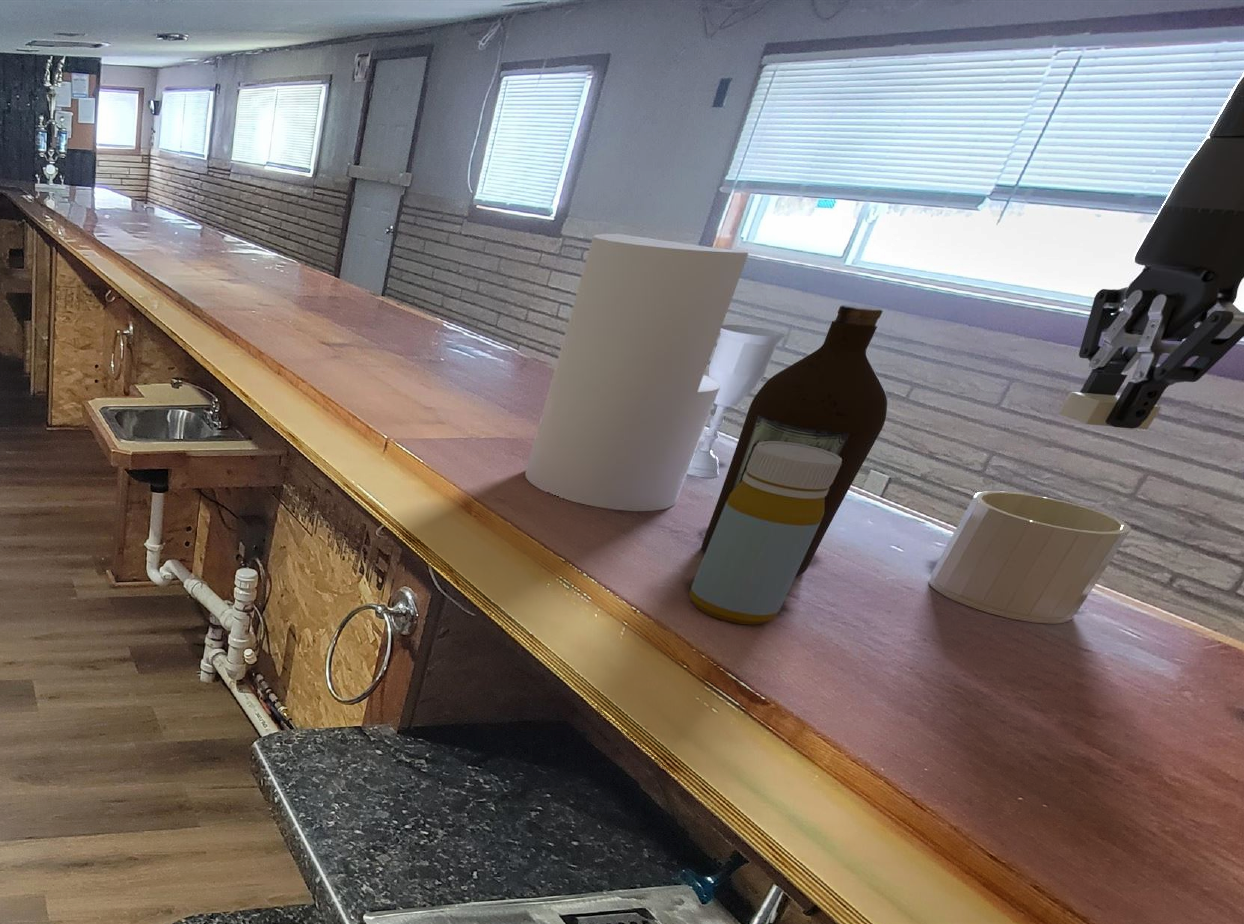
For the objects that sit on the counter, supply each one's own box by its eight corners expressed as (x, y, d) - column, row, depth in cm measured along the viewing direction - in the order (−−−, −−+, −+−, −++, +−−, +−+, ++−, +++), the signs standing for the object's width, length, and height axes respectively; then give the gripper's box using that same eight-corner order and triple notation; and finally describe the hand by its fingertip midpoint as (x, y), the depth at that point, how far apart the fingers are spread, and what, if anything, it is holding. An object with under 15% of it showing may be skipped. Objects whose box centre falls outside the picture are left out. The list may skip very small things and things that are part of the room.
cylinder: (593, 516, 104) (682, 252, 90) (495, 467, 118) (559, 232, 104) (710, 505, 108) (812, 253, 94) (602, 460, 123) (677, 234, 109)
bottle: (767, 602, 85) (838, 447, 78) (780, 634, 80) (858, 470, 72) (683, 586, 88) (744, 435, 80) (690, 616, 82) (757, 456, 75)
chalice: (741, 479, 118) (800, 336, 109) (697, 481, 116) (753, 336, 107) (697, 461, 124) (750, 324, 115) (655, 463, 123) (705, 324, 114)
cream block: (1116, 418, 81) (1130, 396, 80) (1147, 429, 78) (1162, 406, 77) (1057, 413, 82) (1070, 391, 81) (1086, 424, 79) (1099, 401, 78)
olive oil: (712, 531, 101) (809, 294, 89) (824, 562, 94) (945, 311, 82) (679, 555, 95) (778, 303, 82) (796, 590, 88) (923, 322, 76)
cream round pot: (1024, 581, 92) (1075, 498, 88) (1102, 630, 83) (1163, 540, 79) (905, 568, 94) (949, 485, 90) (969, 614, 85) (1021, 525, 80)
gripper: (1378, 214, 65) (1220, 448, 73) (1213, 202, 77) (1093, 404, 85) (1254, 207, 66) (1112, 438, 75) (1110, 197, 78) (1002, 397, 87)
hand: (1103, 419), depth 80 cm, fingers closed on cream block, 3 cm apart
